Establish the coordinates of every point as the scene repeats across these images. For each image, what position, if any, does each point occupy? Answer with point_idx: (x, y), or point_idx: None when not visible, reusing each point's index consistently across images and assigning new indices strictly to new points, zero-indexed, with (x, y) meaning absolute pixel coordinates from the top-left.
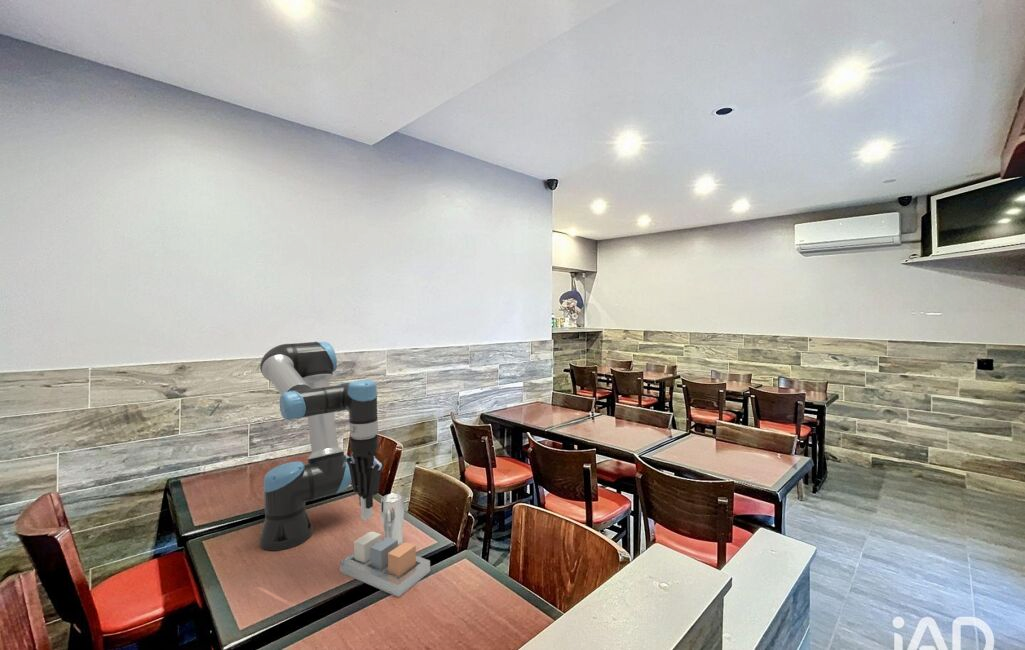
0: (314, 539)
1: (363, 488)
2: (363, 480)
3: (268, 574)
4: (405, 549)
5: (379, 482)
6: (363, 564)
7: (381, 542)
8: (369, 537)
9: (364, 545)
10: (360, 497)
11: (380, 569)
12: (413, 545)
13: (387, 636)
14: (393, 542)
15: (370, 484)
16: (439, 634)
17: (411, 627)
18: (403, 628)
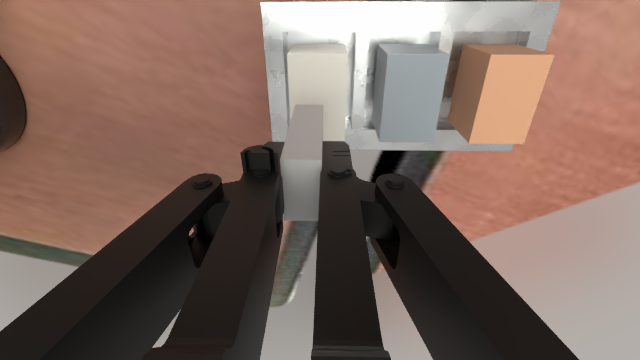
0: (14, 42)
1: (275, 229)
2: (266, 284)
3: (129, 203)
4: (523, 95)
5: (472, 250)
6: None
7: (395, 100)
8: (321, 95)
9: (344, 137)
10: (287, 219)
11: (371, 75)
12: (544, 57)
13: (525, 212)
14: (442, 77)
15: (414, 312)
16: (637, 168)
17: (564, 178)
18: (548, 187)
